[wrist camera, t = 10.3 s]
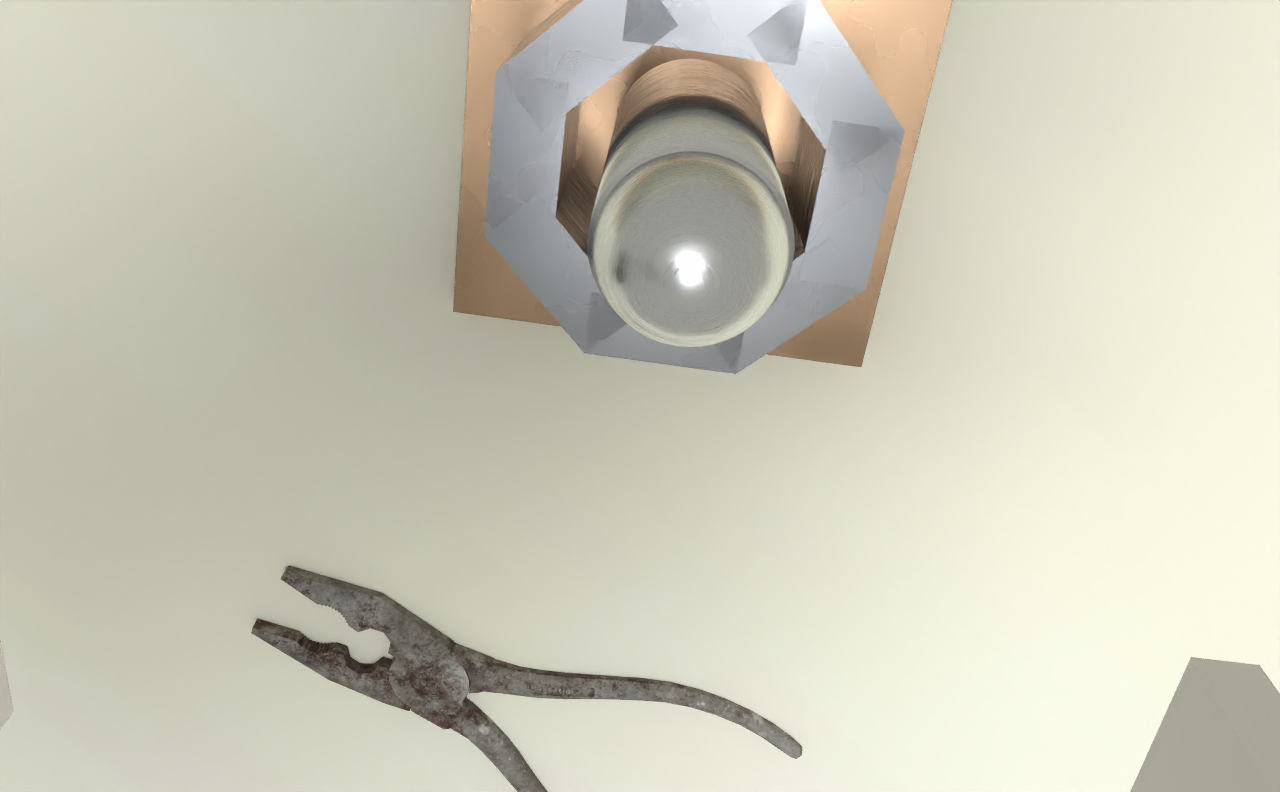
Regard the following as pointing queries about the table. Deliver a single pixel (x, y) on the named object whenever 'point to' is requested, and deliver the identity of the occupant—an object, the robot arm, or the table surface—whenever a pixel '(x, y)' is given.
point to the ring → (565, 197)
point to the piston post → (693, 179)
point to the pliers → (466, 675)
